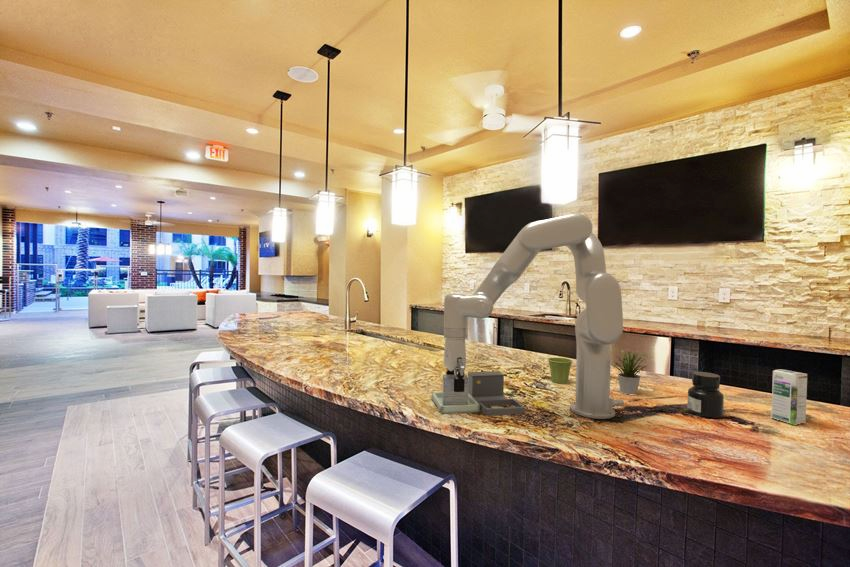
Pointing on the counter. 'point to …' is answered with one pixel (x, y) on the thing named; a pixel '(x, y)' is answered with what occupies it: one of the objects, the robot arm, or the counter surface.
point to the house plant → (629, 372)
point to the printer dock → (491, 393)
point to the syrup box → (789, 396)
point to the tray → (447, 409)
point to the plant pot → (560, 369)
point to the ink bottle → (705, 395)
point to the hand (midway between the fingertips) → (454, 387)
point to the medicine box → (450, 395)
